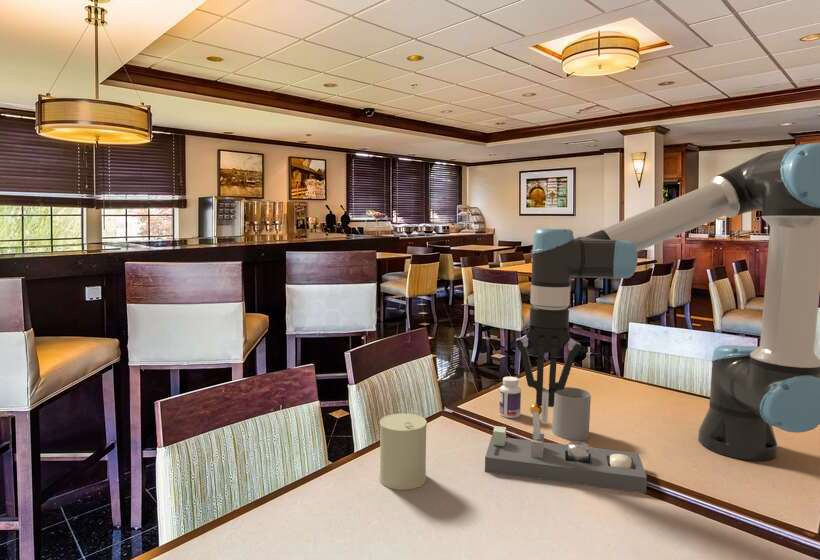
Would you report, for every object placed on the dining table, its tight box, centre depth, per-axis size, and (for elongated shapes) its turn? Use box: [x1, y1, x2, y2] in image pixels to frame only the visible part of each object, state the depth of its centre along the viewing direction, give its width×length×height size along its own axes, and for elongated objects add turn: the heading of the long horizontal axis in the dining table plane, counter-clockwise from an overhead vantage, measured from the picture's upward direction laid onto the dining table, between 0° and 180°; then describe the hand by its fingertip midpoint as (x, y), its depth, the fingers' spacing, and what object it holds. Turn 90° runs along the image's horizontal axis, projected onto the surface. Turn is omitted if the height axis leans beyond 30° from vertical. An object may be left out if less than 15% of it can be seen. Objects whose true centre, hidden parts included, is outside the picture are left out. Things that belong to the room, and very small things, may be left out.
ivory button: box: [610, 454, 632, 469], centre depth 104 cm, size 4×4×4 cm
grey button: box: [567, 440, 590, 463], centre depth 106 cm, size 4×4×4 cm
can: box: [378, 412, 428, 491], centre depth 103 cm, size 9×9×12 cm
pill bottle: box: [498, 376, 522, 419], centre depth 137 cm, size 5×5×10 cm
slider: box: [492, 425, 507, 446], centre depth 113 cm, size 2×3×3 cm
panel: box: [484, 431, 648, 494], centre depth 107 cm, size 30×11×6 cm, turn 74°
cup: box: [551, 386, 592, 441], centre depth 126 cm, size 8×8×10 cm
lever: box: [529, 402, 542, 441], centre depth 108 cm, size 2×3×9 cm
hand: (544, 421), depth 107 cm, fingers closed
